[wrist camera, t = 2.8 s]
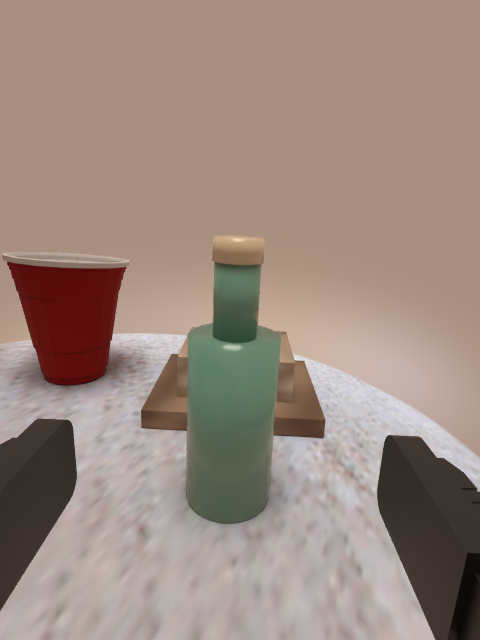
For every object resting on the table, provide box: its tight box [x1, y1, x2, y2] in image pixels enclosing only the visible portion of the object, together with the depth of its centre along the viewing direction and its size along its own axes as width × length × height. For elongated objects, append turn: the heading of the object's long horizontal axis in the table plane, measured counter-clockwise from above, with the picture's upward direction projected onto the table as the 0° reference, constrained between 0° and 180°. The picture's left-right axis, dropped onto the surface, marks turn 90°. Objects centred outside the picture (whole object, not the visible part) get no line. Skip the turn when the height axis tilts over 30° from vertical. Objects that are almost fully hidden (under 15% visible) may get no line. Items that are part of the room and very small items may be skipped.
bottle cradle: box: [141, 327, 325, 437], centre depth 35 cm, size 14×12×5 cm
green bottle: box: [186, 235, 281, 523], centre depth 22 cm, size 5×5×15 cm
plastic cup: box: [2, 252, 130, 385], centre depth 38 cm, size 11×11×12 cm
